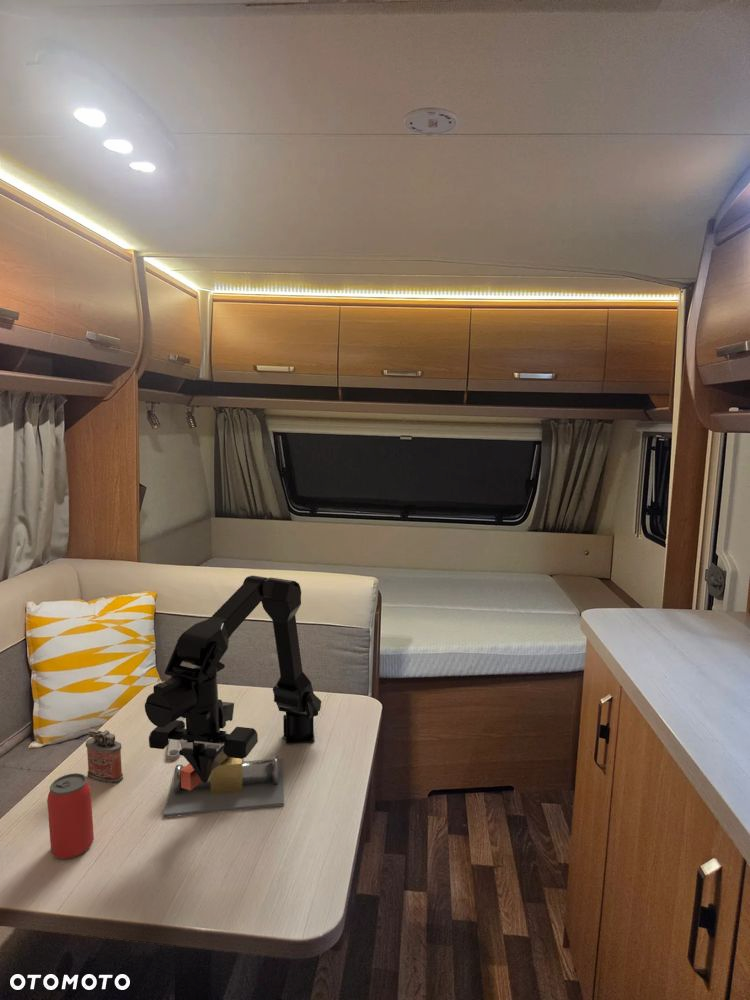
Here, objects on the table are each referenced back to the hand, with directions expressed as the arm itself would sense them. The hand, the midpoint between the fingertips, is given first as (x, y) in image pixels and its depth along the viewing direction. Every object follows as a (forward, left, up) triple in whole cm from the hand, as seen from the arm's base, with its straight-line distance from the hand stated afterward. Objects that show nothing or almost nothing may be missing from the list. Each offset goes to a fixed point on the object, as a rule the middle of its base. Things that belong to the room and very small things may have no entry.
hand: (205, 781), depth 107 cm
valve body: (-3, -10, -8) cm, 13 cm away
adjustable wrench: (+11, -34, -8) cm, 36 cm away
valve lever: (0, -5, -1) cm, 5 cm away
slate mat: (-3, -10, -8) cm, 13 cm away
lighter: (+22, -17, -8) cm, 29 cm away
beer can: (+22, +3, -8) cm, 24 cm away
